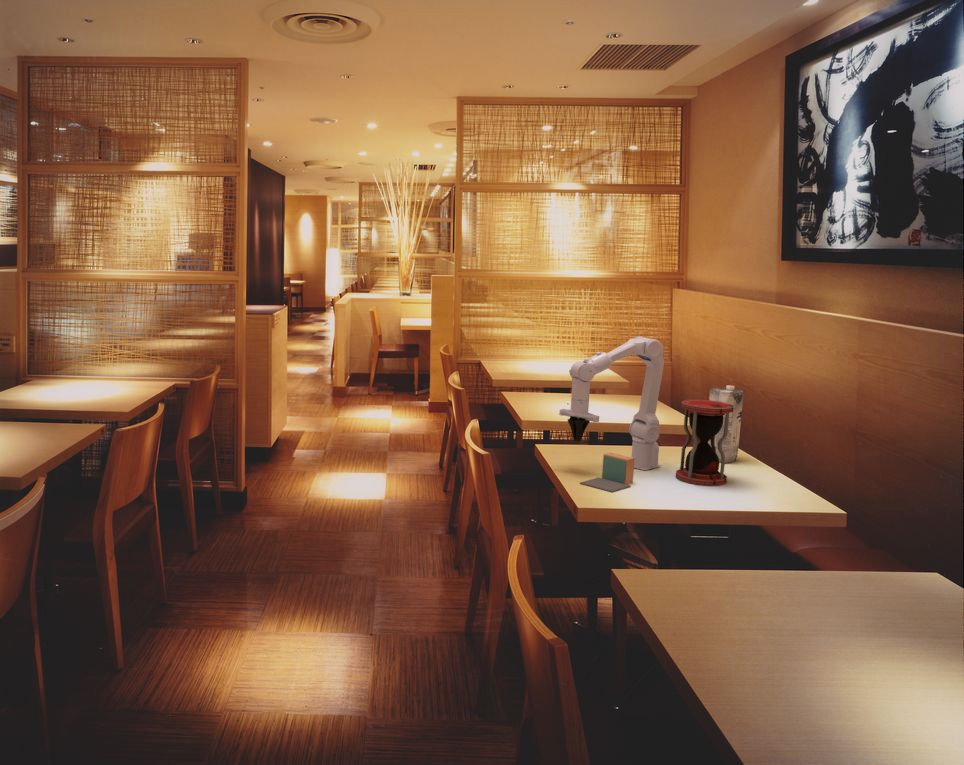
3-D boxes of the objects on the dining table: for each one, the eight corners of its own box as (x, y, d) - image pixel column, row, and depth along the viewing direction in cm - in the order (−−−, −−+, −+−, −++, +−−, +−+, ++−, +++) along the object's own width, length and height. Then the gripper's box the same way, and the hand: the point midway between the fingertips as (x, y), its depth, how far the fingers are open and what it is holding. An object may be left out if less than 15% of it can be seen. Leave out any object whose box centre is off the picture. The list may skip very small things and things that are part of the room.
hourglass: (710, 488, 263) (718, 410, 259) (665, 477, 274) (672, 401, 270) (735, 480, 274) (742, 405, 270) (691, 470, 285) (697, 397, 281)
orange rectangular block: (608, 476, 272) (610, 452, 270) (632, 482, 266) (634, 458, 264) (601, 478, 268) (602, 454, 267) (625, 485, 262) (627, 460, 261)
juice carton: (725, 464, 296) (732, 388, 292) (700, 458, 304) (707, 384, 300) (740, 461, 301) (747, 387, 297) (715, 455, 309) (722, 382, 305)
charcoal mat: (598, 478, 268) (598, 477, 268) (630, 486, 260) (630, 485, 260) (579, 483, 261) (579, 482, 261) (612, 492, 253) (612, 491, 253)
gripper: (554, 397, 274) (552, 437, 276) (591, 403, 264) (588, 446, 266) (567, 395, 279) (565, 435, 281) (604, 401, 269) (601, 443, 271)
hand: (577, 440), depth 274 cm, fingers closed
